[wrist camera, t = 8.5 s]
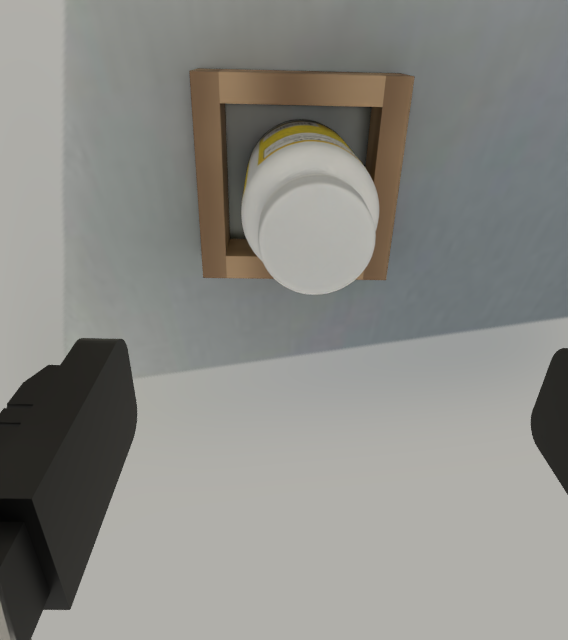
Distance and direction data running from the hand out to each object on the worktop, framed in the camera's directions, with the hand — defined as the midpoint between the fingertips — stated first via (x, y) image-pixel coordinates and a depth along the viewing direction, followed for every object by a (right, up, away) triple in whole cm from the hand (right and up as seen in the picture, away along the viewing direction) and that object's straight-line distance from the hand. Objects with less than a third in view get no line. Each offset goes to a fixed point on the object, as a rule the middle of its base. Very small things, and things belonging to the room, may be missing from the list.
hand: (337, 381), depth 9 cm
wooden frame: (0, +9, +15) cm, 18 cm away
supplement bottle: (0, +9, +16) cm, 18 cm away
